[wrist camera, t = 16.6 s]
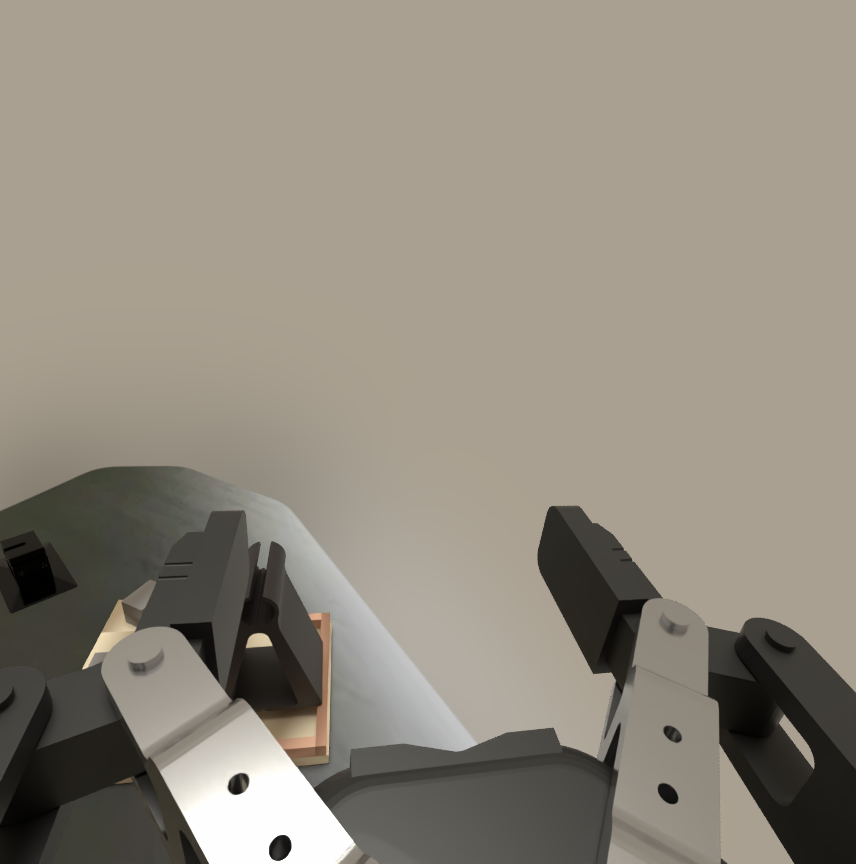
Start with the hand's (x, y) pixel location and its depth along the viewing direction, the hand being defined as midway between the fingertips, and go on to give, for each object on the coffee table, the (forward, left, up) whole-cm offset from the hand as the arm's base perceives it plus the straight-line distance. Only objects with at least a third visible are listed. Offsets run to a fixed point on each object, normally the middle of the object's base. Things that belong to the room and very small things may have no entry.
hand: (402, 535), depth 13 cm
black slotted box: (-33, +35, -33) cm, 58 cm away
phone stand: (-7, +19, -30) cm, 36 cm away
